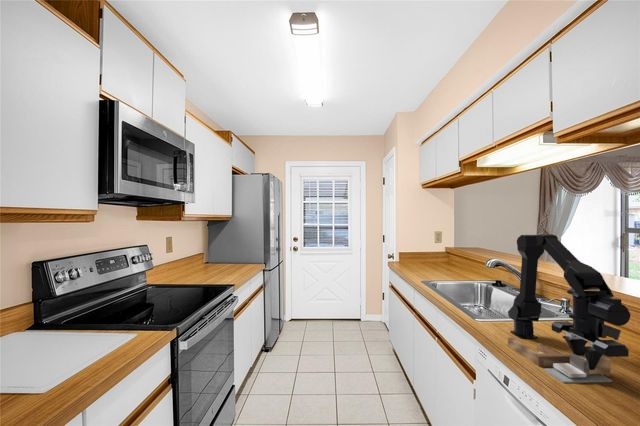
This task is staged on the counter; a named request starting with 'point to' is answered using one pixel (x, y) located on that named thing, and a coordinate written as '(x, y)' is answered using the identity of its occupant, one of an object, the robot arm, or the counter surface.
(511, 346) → the corner fence
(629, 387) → the counter surface
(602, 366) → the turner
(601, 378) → the mat
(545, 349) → the shard
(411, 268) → the counter surface
